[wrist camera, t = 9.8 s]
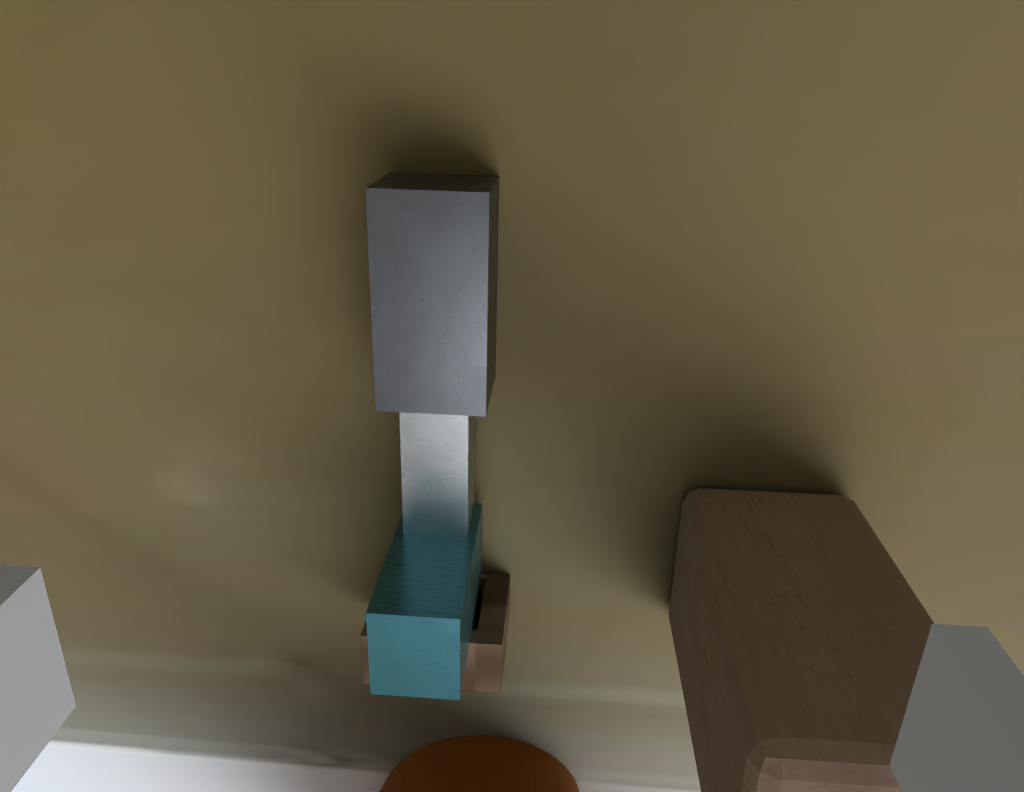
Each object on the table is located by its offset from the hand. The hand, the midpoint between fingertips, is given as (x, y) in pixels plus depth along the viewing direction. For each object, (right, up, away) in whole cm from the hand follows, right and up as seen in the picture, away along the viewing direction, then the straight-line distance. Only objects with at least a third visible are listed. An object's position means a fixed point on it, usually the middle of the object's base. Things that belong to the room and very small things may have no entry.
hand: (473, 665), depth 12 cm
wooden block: (+15, -6, +36) cm, 40 cm away
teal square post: (-3, -1, +34) cm, 34 cm away
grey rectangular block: (-3, +10, +30) cm, 32 cm away
